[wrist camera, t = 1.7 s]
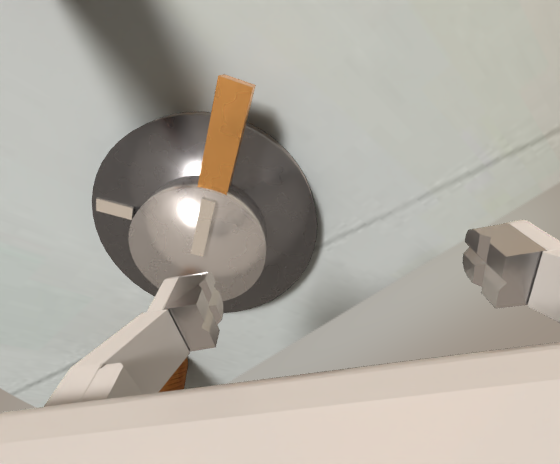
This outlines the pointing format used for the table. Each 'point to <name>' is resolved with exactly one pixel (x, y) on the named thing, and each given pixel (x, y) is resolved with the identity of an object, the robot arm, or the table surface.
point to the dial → (206, 210)
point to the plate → (187, 161)
